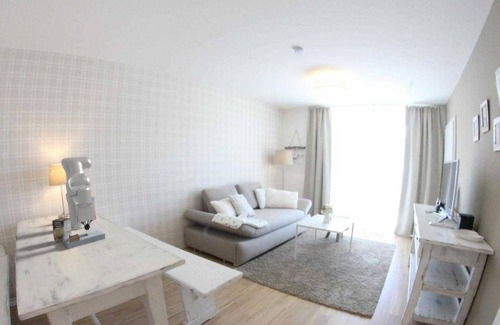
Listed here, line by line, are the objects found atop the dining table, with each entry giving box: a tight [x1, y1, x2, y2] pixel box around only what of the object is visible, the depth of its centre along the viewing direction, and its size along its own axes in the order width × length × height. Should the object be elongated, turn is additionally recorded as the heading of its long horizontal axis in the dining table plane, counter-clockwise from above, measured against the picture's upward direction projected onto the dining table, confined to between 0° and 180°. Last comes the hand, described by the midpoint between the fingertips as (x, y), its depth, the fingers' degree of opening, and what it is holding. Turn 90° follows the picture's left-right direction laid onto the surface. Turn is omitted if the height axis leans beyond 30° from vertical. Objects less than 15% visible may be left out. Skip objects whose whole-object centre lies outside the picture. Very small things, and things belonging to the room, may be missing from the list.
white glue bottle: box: [91, 195, 97, 220], centre depth 222 cm, size 14×6×21 cm, turn 125°
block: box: [69, 233, 80, 242], centre depth 164 cm, size 5×5×4 cm
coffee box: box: [51, 217, 73, 243], centre depth 172 cm, size 9×6×16 cm
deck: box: [62, 229, 106, 250], centre depth 171 cm, size 16×22×4 cm
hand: (87, 229), depth 170 cm, fingers closed
